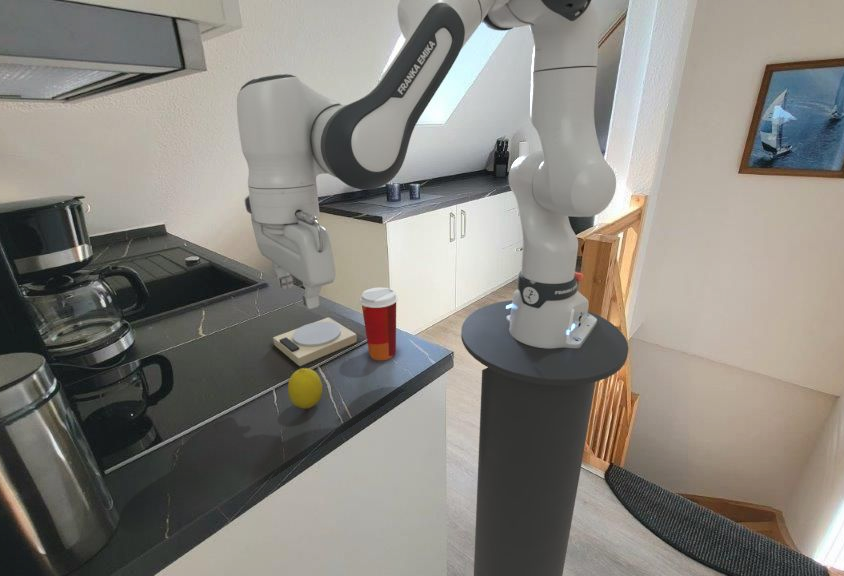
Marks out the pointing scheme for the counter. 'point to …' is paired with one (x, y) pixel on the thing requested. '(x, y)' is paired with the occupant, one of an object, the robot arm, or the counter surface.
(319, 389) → the lemon
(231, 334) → the counter surface
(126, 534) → the counter surface
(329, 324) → the scale
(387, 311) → the paper cup
